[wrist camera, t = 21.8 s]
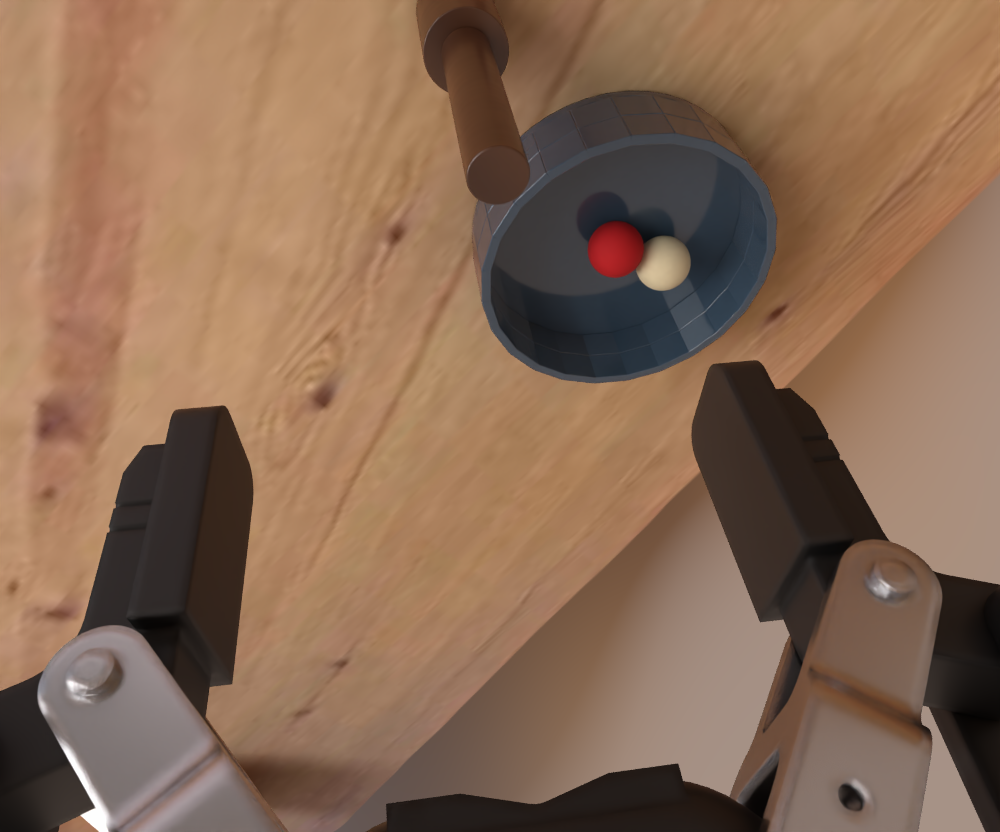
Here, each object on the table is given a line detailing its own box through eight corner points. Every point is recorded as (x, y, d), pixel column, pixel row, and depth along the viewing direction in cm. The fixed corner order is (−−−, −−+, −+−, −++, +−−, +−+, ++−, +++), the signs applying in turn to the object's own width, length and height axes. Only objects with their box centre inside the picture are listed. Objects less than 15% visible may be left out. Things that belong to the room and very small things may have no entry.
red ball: (571, 264, 40) (582, 231, 42) (611, 297, 41) (620, 265, 42) (610, 231, 38) (619, 199, 39) (651, 268, 38) (659, 235, 40)
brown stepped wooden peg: (453, -51, 30) (499, 99, 21) (510, 10, 32) (574, 172, 23) (399, 13, 32) (420, 181, 23) (456, 68, 34) (497, 243, 25)
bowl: (637, 19, 33) (666, 59, 30) (793, 215, 43) (827, 262, 40) (413, 241, 40) (418, 291, 37) (589, 369, 49) (604, 418, 46)
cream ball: (666, 245, 43) (669, 214, 40) (699, 280, 42) (704, 252, 39) (624, 273, 43) (624, 245, 40) (656, 309, 42) (658, 283, 39)
